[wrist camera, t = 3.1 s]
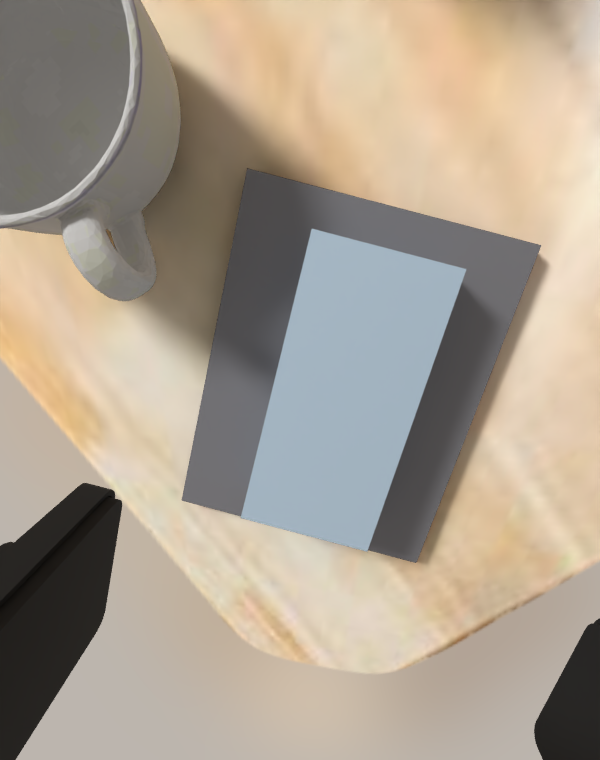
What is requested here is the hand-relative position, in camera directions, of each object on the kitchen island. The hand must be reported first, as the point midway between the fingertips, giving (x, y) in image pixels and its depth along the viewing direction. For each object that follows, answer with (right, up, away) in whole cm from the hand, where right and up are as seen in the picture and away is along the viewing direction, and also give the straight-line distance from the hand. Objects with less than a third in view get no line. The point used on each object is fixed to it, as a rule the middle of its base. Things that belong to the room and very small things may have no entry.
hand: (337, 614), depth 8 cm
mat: (+1, +4, +15) cm, 16 cm away
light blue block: (+1, +4, +14) cm, 15 cm away
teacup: (-10, +16, +13) cm, 23 cm away
